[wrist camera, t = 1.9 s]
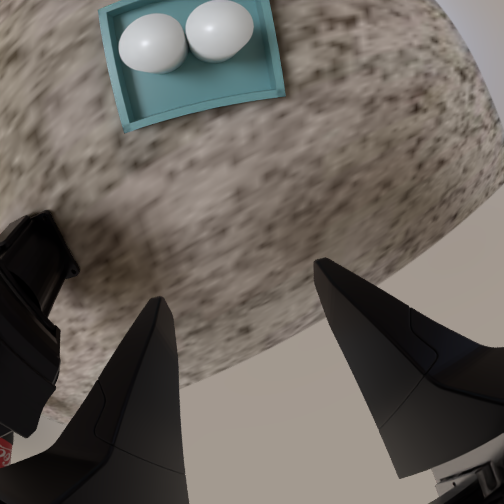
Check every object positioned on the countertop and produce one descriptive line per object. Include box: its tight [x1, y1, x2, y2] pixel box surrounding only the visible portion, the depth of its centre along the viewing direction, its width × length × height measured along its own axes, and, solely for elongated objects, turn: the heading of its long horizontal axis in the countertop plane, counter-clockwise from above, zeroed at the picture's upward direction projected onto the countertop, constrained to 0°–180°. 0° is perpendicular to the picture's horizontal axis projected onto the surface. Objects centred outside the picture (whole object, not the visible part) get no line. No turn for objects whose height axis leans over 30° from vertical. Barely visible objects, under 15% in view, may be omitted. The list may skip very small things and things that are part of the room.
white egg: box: [119, 13, 188, 74], centre depth 11 cm, size 3×3×4 cm
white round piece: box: [186, 0, 254, 63], centre depth 11 cm, size 3×3×4 cm
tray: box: [98, 0, 286, 134], centre depth 13 cm, size 9×10×2 cm
